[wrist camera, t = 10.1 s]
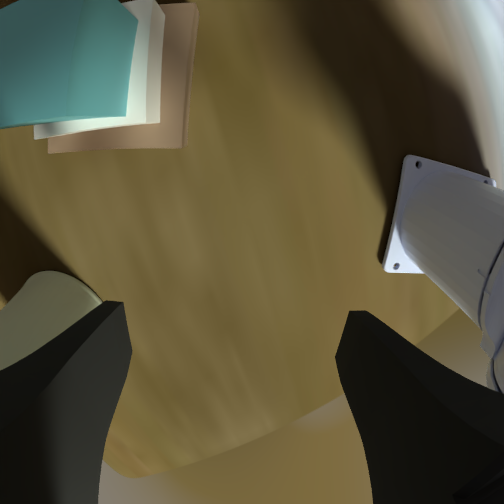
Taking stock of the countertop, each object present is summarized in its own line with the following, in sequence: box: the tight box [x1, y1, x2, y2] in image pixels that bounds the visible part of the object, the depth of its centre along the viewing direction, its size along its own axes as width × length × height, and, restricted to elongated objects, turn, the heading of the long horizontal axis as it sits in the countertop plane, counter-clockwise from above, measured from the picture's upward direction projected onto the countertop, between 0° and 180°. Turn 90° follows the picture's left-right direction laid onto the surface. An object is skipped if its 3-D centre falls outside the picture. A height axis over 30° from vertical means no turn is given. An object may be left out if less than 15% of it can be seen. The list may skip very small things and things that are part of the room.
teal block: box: [0, 0, 138, 129], centre depth 7 cm, size 4×4×5 cm
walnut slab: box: [48, 3, 199, 154], centre depth 13 cm, size 8×8×2 cm
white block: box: [34, 0, 165, 140], centre depth 11 cm, size 6×6×2 cm
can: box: [0, 271, 103, 370], centre depth 14 cm, size 9×9×12 cm
